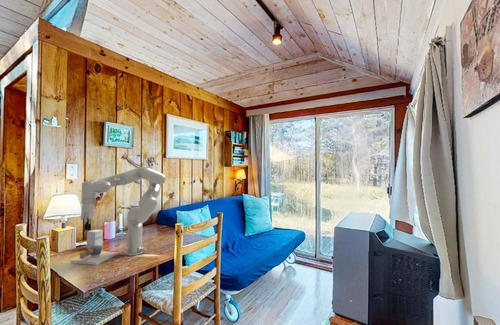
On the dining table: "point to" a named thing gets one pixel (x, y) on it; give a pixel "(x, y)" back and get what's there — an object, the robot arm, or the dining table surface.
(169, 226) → the dining table surface
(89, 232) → the supplement box
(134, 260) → the dining table surface
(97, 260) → the post base
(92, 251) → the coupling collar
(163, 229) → the dining table surface
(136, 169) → the robot arm
